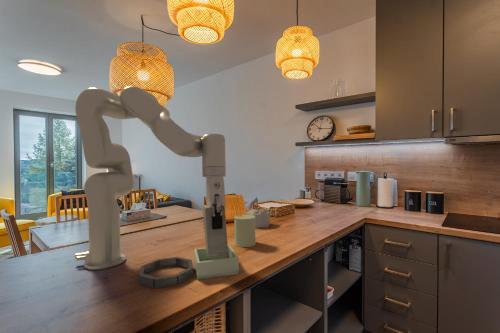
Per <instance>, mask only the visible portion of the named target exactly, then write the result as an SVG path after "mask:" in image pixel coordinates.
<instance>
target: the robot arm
mask: <svg viewBox="0 0 500 333" xmlns="http://www.w3.org/2000/svg"><path fill="white" fill-rule="evenodd" d="M74 109H75V114H76V120H77V123H78V125H79V126H78V127H79V129H80V138H81V143H82V150H83V156H84V161H85V162H86V165H87V166H88V167H89V168H92V169H97V170H98V169H99V170H101V169H103V170H104V169H105V170H107V171H103V172H96V173H94V174H92V175H90V176H89V177H88V178H87V179H85V182H84V186H83V191H84V195H85V199H86V204H87V214H88V215H87V218H88V219H87V220H88V251H86V252H76V253H75V256H74V259H75V260H76V261H78V262H79V261H84V262H83V268H85V269H87V270H91V271H92V270H93V271H95V270H97V271H98V270H104V269H110V268H112V267H116V266H119V265H120V264H122V263H124V262H125V261H126V254H124V253H121V252H122V251H121V250H122V249H121V248H122V247H121V210H120V205H119V204H118V202H117V199H116V198H119V197H124V196H127V195H129V194H130V193H131V192H132V191H133V189H134V175H133V169H132V162H131V161H132V160H131V158H130V154H129V152H128V150H127V149H126V148H125V147H124V146H123V145H122V144H119V143H113V142H112V141H111V135H110V129H109V127H108V124H107V123H106V121H105V119H104V117H103V116H105V117H110V118H113V119H116V120H130V119H139V121H141V122H142V123H143V124H145V126H147V128H149V130H150V131H151V132H152V134H153V135H154V136H155V138H156V139H157V140H158V141H159V142H160V143H161V144H163V145H164V146H165V147H166V148H167V149H169V150H170V151H171V152H173V153H174V154H175V155H176V156H180V157H184V158H187V157H188V158H199V157H201V162H202V163H201V164H202V165H201V166H202V171H201V172H202V175H201V176H202V177H203V178H205V185H206V186H205V194H206V205H208V206H209V207H210V208H212V213H213V216H212V229H213V230H214V229H222V228H223V224H222V209H221V206H224V207H225V208H226V190H225V189H226V188H225V180H224V177H227V176H226V175H227V173H226V172H227V171H226V170H227V168H226V167H227V166H226V139H225V136H224V134H221V133H205V134H204V135H196V134H193V133H191V132H188V131H186V130H185V129H184V128H182V127H181V126H180V125H179V124H177V123H176V122H175V121H174V120H173V119H172V118H171V117H170V115H171V114H170V111H169V110H168V109H167V108H166V107H165V106H163V104H161V103H160V102H159V100H158V99H157V98H156V96H155V94H152V93H150V92H148V91H146V90H145V89H143V88H140V86H139V87H138V86H135V85H129V86H126V87H124V88H123V89H122V90H121V91H120V94H119V95H118V94H117V93H116V94H115V93H113V92H111V91H108V90H106V89H103V88H100V87H99V88H98V87H89V88H86V89H84V90H83V91H81V92H80V93H79V95H78V97H77V98H76V101H75V108H74ZM224 207H223V208H224ZM214 209H215V211H214Z"/></svg>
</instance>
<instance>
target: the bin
mask: <svg viewBox="0 0 500 333" xmlns="http://www.w3.org/2000/svg"><path fill="white" fill-rule="evenodd" d="M227 245H228V256H219V257H212V258H209V257H208V254H207V252H206V247H203V248H193V249H194V250H193V256H194V257H193V258H194V259H193V260H194V262H193V266H194V269H195V274H196V280H197V281H201V280H206V279H213V278H220V277H226V276H227V277H228V276H234V275H239V274H240V268H239V267H240V266H239V265H240V264H239V256H238V255H237V253H236V252H235V250H234V249H233V247H232V246H231V244H227Z"/></svg>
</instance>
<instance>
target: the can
mask: <svg viewBox="0 0 500 333" xmlns="http://www.w3.org/2000/svg"><path fill="white" fill-rule="evenodd" d="M233 218H234V220H233V222H234V227H233V228H234V243H233V244H234V246H236V247H240V248H250V247H254V246H256V244H257V242H256V228H255V216H253V215H246V214H238V215H235V216H234V217H233Z"/></svg>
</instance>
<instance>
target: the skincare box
mask: <svg viewBox="0 0 500 333" xmlns="http://www.w3.org/2000/svg"><path fill="white" fill-rule="evenodd" d="M202 207H203V208H202V210H203V211H202V213H203V226H204V227H203V228H204V229H203V230H204V239H205V240H204V241H205V248H206V252H207V254H208V257H209V258H212V257H219V256H228V245H229V244H228V234H227V221H226V206H225V207H224V206H221V209H222V224H223V228H222V229H214V230H213V229H212V216H213V213H212V208H210V207H209V206H208V205H207V204H203V206H202ZM223 207H224V208H223ZM214 211H215V209H214Z"/></svg>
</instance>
